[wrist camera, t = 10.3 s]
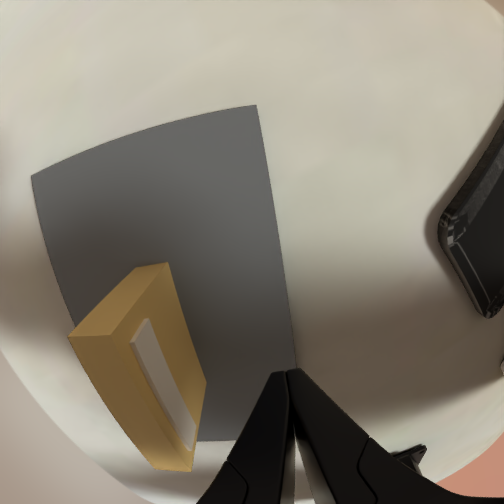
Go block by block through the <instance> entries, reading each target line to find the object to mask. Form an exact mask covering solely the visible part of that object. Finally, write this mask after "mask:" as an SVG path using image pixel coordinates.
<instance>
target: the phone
mask: <svg viewBox="0 0 504 504" xmlns="http://www.w3.org/2000/svg"><path fill="white" fill-rule="evenodd" d="M437 234H438V241H439V243H440V245H441V247H442V249H443V251H444V252H445V254H446V255H447V257H448V259H449V260H450V262H451V264H452V265H453V267H454V269H455V271H456V272H457V274H458V276H459V278H460V280H461V281H462V283H463V285H464V287H465V289H466V291H467V293H468V294H469V296H470V298H471V300H472V302H473V304H474V306H475V308H476V310H477V311H478V312H479V313H480V314H481V315H483V316H484V317H485V318H488V319H489V318H492V317H493V316H495V315H496V314H497V313H498V312H499V311H500V309H501V308H502V306H503V305H504V121H503V122H502V124H501V126H500V128H499V130H498V131H497V133H496V135H495V137H494V138H493V140H492V142H491V143H490V145H489V147H488V148H487V150H486V151H485V153H484V155H483V156H482V158H481V159H480V161H479V163H478V164H477V166H476V167H475V169H474V170H473V172H472V173H471V175H470V176H469V177H468V179H467V180H466V182H465V183H464V185H463V186H462V188H461V189H460V190H459V192H458V193H457V194H456V196H455V197H454V199H453V200H452V201H451V203H450V204H449V205H448V207H447V208H446V209H445V211H444V212H443V214H442V216H441V217H440V221H439V224H438V232H437Z"/></svg>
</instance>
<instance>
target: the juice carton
mask: <svg viewBox="0 0 504 504" xmlns="http://www.w3.org/2000/svg"><path fill="white" fill-rule="evenodd" d="M500 368H501V370H502V372H503V374H504V360H503V362H502V364H501V367H500Z"/></svg>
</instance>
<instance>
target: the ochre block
mask: <svg viewBox="0 0 504 504" xmlns="http://www.w3.org/2000/svg"><path fill="white" fill-rule="evenodd" d="M67 337H68V339H69V341H70V343H71V345H72V347H73V349H74V351H75V353H76V355H77V357H78V359H79V361H80V363H81V365H82V366H83V368H84V370H85V372H86V373H87V375H88V377H89V379H90V380H91V382H92V384H93V385H94V387H95V389H96V390H97V392H98V394H99V395H100V397H101V398H102V400H103V402H104V403H105V405H106V406H107V408H108V409H109V411H110V412H111V414H112V415H113V416H114V418H115V419H116V421H117V422H118V424H119V425H120V426H121V428H122V429H123V430H124V432H125V433H126V434H127V436H128V437H129V438H130V440H131V441H132V442H133V443H134V445H135V446H136V447H137V448H138V450H139V451H140V452H141V453H142V455H143V456H144V457H145V458H146V459H147V461H148V462H149V463H150V464H151V465H152V466H153V467H154V469H159V470H170V471H185V472H191V471H192V464H193V458H194V452H195V446H196V440H197V434H198V429H199V423H200V417H201V411H202V406H203V400H204V395H205V389H206V384H207V382H206V379H205V376H204V374H203V371H202V368H201V366H200V363H199V360H198V357H197V354H196V351H195V349H194V346H193V343H192V340H191V337H190V334H189V331H188V328H187V325H186V322H185V318H184V315H183V312H182V309H181V306H180V302H179V299H178V296H177V292H176V289H175V285H174V282H173V278H172V275H171V271H170V267H169V264H168V262H165V263H159V264H153V265H148V266H142V267H136V268H135V269H134V270H133V271H132V272H130V273H129V274H128V275H127V276H126V277H125V278H124V279H123V280H122V281H121V282H120V283H119V284H118V285H117V286H116V287H115V288H114V289H113V290H112V291H111V292H110V293H109V294H108V295H107V296H106V297H105V298H104V299H103V300H102V301H101V302H100V303H99V304H98V305H97V306H96V307H95V308H94V309H93V310H92V311H91V312H90V313H89V314H88V315H87V316H86V317H85V318H84V319H83V320H82V321H81V322H80V323H79V325H78V326H77V327H76V328H75V329H74V330H73V331H72V332H71V333H70V334H69V335H68V336H67Z"/></svg>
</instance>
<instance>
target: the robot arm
mask: <svg viewBox="0 0 504 504" xmlns="http://www.w3.org/2000/svg"><path fill="white" fill-rule="evenodd" d="M294 431H295V433H294ZM295 437H296V441H297V445H298V448H299V452H300V455H301V458H302V461H303V465H304V468H305V471H306V475H307V478H308V481H309V484H310V488H311V491H312V494H313V497H314V501H315V504H504V497H503V498H502V497H500V498H496V497H493V498H492V497H471V496H463V495H459V494H456V493H453V492H450V491H448V490H446V489H444V488H442V487H440V486H439V485H437V484H435V483H434V482H432V481H430V480H429V479H427V478H425V477H424V476H422V473H421V471H420V469H419V467H418V464H419V463H420V461H421V459H422V458H423V456H424V454H425V452H426V451H427V448H426V446H425V445H423V446H420V447H418V448H416V449H413V450H411V451H408V452H406V453H403V454H401V455H398V456H395V457H393V456H392V455H391V454H390V453H388V452H387V451H386V450H385V449H384V448H382V447H381V446H380V445H379V444H378V443H377V442H376V441H375V440H374V439H373V438H371V437H370V438H369V435H368V434H367V433H366V432H365V431H364V430H363V429H362V428H361V427H360V426H359V425H358V424H356V423H355V422H354V421H353V420H352V419H351V418H350V417H349V416H348V415H347V414H346V413H345V412H344V411H343V410H342V409H341V408H340V407H339V406H338V405H337V404H336V403H335V402H334V401H333V400H332V399H331V398H330V397H329V396H328V395H327V394H326V393H325V392H324V391H323V390H322V389H321V388H320V387H319V386H318V385H317V384H316V383H315V382H314V381H313V380H312V379H311V378H310V377H309V376H308V375H307V374H306V373H305V372H304V371H303V370H302V369H301V368H295V369H289V370H287V371H286V372H285V371H276V372H272V373H271V374H270V376H269V378H268V380H267V382H266V384H265V386H264V388H263V390H262V392H261V394H260V396H259V398H258V400H257V402H256V404H255V406H254V408H253V410H252V412H251V414H250V416H249V418H248V420H247V422H246V424H245V426H244V428H243V430H242V431H241V433H240V435H239V437H238V439H237V441H236V443H235V444H234V446H233V448H232V450H231V452H230V454H229V455H228V457H227V461H225V462H224V464H223V466H222V467H221V469H220V471H219V473H218V474H217V476H216V477H215V479H214V480H213V482H212V483H211V485H210V487H209V488H208V489H207V490H206V492H205V493H204V494H203V496H202V497H201V498H200V499H199V501H198V502H197V503H196V504H294V488H295Z"/></svg>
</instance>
